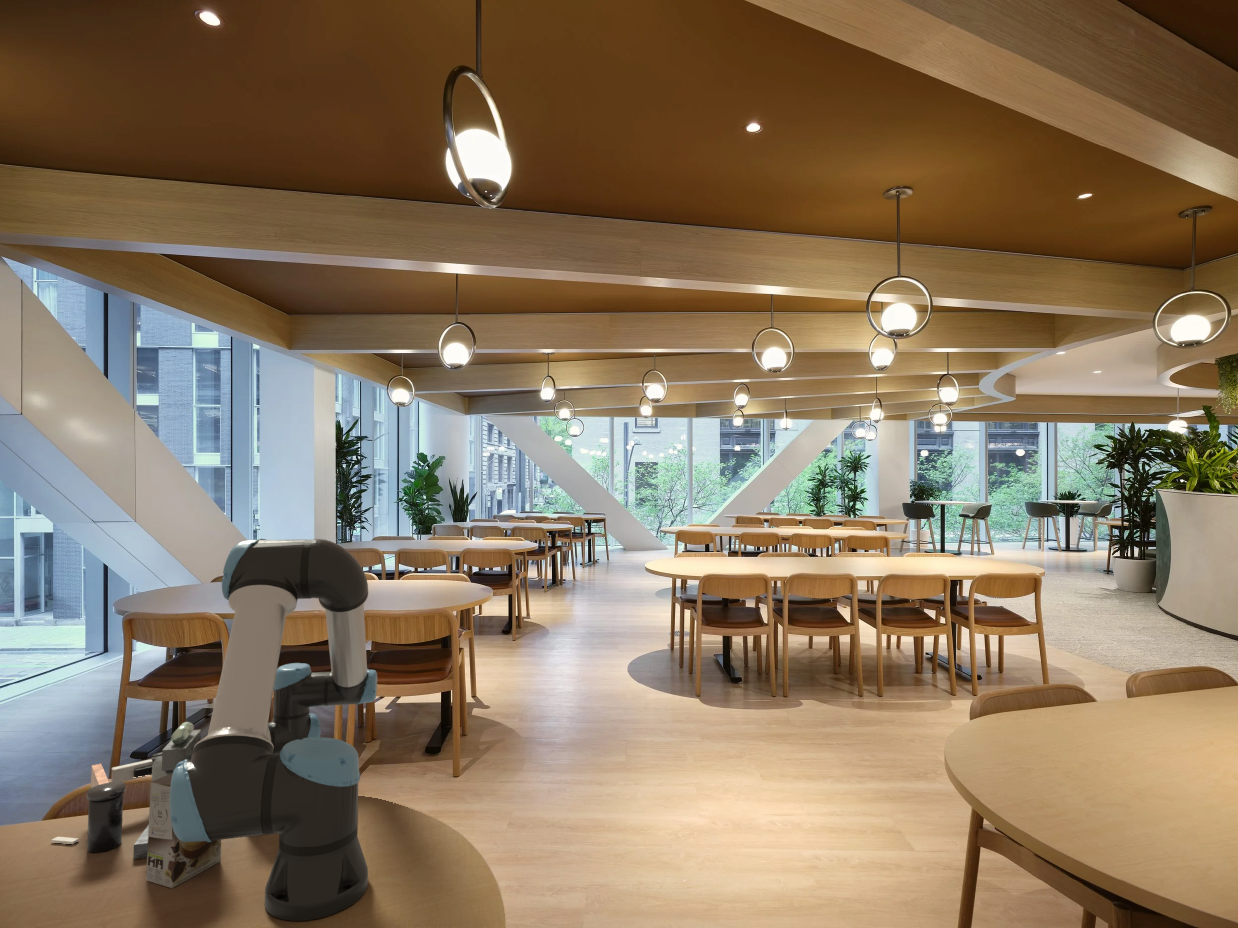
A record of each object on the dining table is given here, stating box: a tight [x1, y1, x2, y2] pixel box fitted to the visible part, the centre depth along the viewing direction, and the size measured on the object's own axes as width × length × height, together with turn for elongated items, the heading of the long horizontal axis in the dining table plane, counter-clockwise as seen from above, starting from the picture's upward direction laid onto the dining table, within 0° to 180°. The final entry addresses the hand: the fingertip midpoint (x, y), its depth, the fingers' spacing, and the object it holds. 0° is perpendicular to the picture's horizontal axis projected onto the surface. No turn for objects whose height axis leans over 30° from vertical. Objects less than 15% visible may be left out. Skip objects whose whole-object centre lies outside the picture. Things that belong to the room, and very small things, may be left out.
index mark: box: [50, 836, 80, 845], centre depth 127 cm, size 4×1×1 cm, turn 82°
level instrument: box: [132, 721, 202, 860], centre depth 129 cm, size 11×11×20 cm
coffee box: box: [145, 773, 222, 889], centre depth 118 cm, size 9×6×16 cm
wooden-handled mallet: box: [86, 763, 127, 853], centre depth 130 cm, size 18×6×10 cm, turn 42°
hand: (112, 775), depth 137 cm, fingers closed
